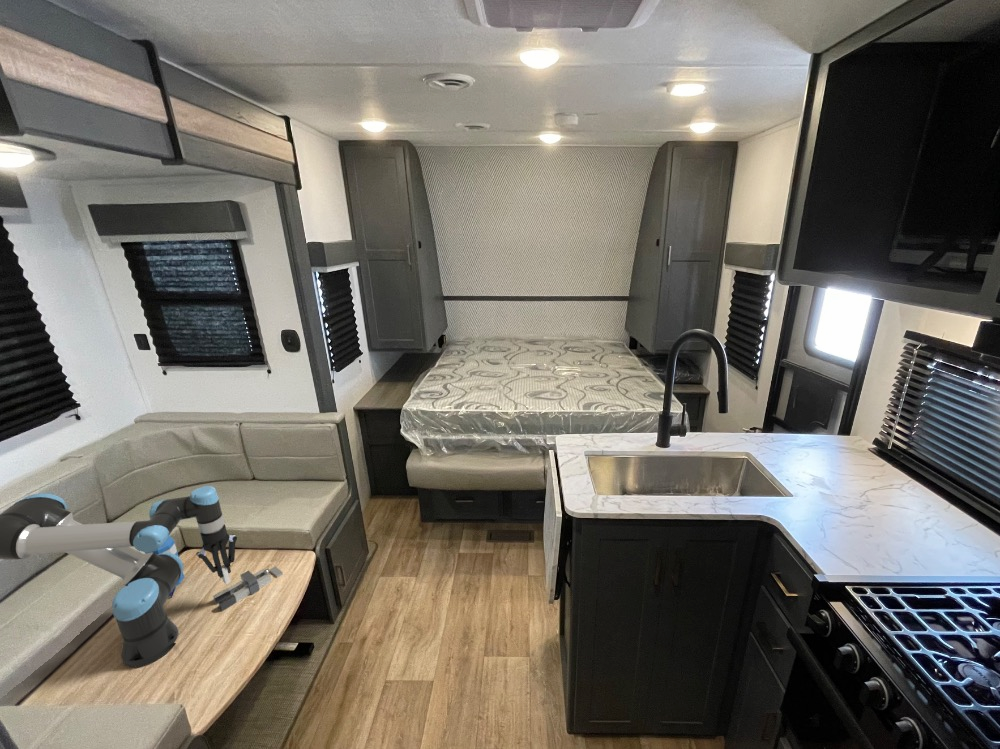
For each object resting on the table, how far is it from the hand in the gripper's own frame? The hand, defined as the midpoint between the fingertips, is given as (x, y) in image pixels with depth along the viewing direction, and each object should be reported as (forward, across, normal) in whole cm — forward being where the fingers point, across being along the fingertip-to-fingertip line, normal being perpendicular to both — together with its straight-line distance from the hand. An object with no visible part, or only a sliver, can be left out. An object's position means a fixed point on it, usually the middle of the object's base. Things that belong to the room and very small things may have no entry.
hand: (226, 581), depth 158 cm
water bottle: (+10, +10, -30) cm, 34 cm away
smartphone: (+10, +10, -25) cm, 29 cm away
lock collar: (+9, -7, 0) cm, 11 cm away
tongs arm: (+9, -5, -2) cm, 10 cm away
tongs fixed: (+9, -7, 0) cm, 11 cm away
